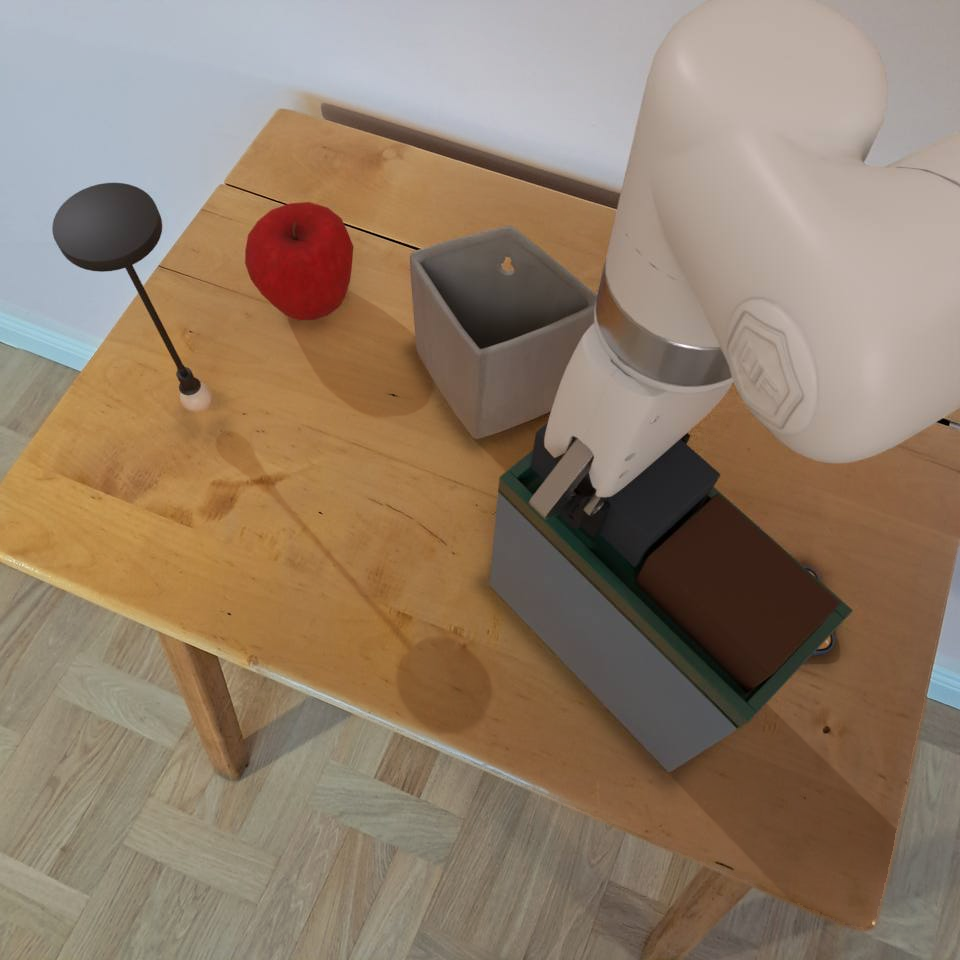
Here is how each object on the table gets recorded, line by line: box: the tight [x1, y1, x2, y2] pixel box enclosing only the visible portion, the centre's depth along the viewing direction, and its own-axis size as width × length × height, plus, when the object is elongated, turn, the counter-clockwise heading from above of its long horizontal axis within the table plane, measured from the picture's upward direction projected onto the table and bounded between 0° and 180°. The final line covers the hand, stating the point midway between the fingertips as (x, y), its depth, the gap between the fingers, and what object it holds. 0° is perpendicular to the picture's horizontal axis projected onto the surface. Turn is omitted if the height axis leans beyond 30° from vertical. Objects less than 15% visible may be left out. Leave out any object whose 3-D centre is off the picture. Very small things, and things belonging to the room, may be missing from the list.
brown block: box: [635, 493, 840, 693], centre depth 50 cm, size 6×9×4 cm, turn 42°
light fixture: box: [51, 182, 213, 413], centre depth 67 cm, size 7×7×25 cm
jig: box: [497, 449, 853, 730], centre depth 53 cm, size 20×10×2 cm, turn 42°
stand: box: [488, 491, 738, 774], centre depth 62 cm, size 20×10×18 cm, turn 42°
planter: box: [409, 225, 597, 440], centre depth 71 cm, size 16×8×19 cm, turn 73°
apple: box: [244, 201, 354, 321], centre depth 80 cm, size 10×10×11 cm
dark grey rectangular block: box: [530, 422, 721, 567], centre depth 52 cm, size 6×9×4 cm, turn 42°
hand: (616, 483), depth 53 cm, fingers closed on dark grey rectangular block, 5 cm apart
